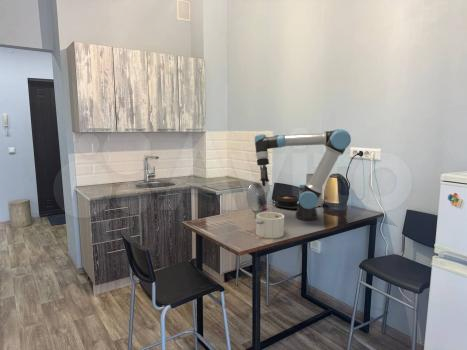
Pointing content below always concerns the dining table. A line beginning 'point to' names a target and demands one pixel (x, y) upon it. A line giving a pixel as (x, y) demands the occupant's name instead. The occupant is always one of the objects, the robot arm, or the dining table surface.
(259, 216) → the stockpot
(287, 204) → the casserole
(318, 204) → the cylinder vase
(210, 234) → the dining table surface
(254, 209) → the lid
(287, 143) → the robot arm
